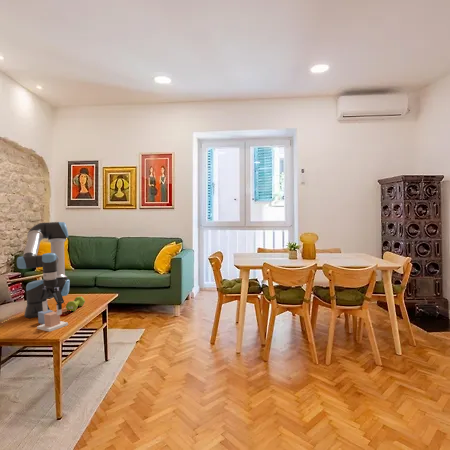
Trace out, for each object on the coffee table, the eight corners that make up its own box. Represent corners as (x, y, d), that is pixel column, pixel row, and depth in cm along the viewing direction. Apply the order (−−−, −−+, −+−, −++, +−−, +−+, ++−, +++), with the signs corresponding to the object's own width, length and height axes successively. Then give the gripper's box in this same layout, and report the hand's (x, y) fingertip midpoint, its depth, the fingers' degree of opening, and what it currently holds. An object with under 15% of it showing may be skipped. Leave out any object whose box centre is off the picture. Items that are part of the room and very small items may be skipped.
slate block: (38, 323, 200) (37, 312, 200) (47, 320, 206) (47, 309, 205) (44, 324, 198) (43, 313, 197) (53, 321, 203) (52, 310, 203)
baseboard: (37, 328, 190) (36, 326, 189) (55, 322, 200) (55, 320, 200) (49, 331, 184) (49, 329, 184) (68, 325, 195) (68, 322, 194)
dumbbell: (75, 305, 238) (75, 296, 238) (86, 305, 238) (85, 295, 238) (64, 312, 222) (64, 302, 222) (76, 312, 222) (75, 301, 222)
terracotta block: (44, 325, 190) (44, 314, 190) (54, 322, 196) (53, 311, 195) (50, 326, 188) (50, 315, 187) (60, 323, 193) (59, 312, 193)
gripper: (31, 278, 194) (33, 312, 195) (57, 282, 182) (59, 318, 183) (43, 275, 200) (45, 308, 201) (69, 279, 189) (71, 313, 190)
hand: (52, 313), depth 192 cm, fingers open, 13 cm apart
